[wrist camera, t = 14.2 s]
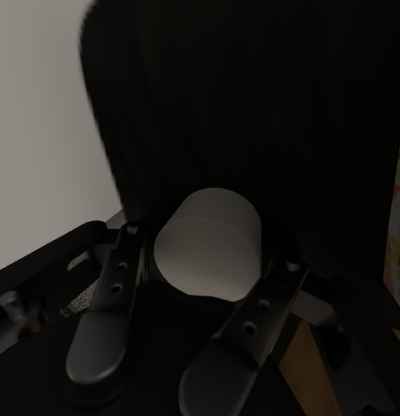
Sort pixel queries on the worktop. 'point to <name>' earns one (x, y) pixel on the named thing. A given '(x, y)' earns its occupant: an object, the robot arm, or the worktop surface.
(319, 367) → the cabinet
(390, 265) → the cracker box
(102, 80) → the worktop surface
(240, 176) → the worktop surface
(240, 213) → the grey cylinder
